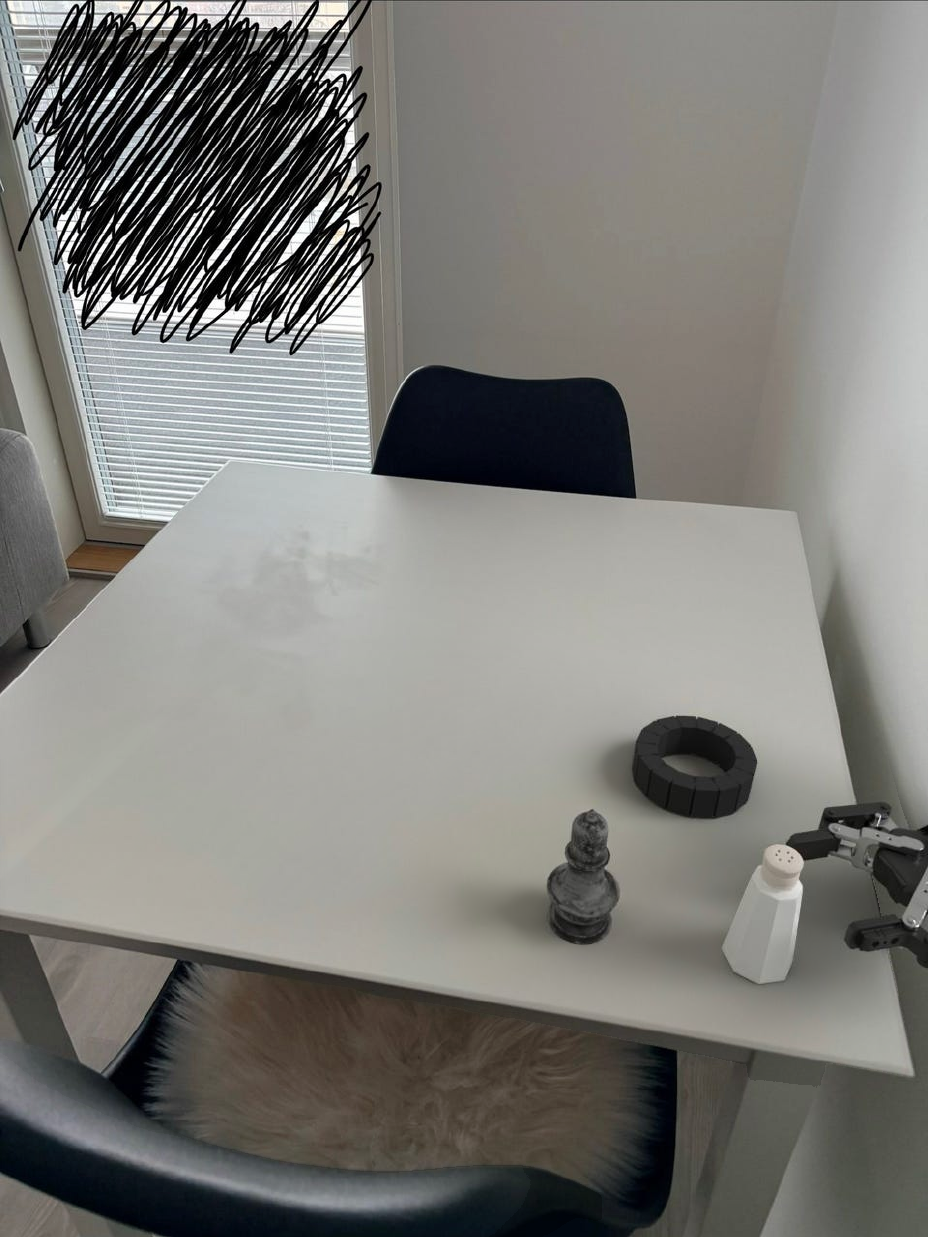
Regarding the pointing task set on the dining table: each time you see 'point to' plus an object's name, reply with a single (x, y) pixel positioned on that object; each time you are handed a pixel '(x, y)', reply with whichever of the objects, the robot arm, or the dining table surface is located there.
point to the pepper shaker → (767, 918)
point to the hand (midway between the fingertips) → (816, 891)
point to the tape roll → (687, 790)
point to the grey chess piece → (583, 884)
